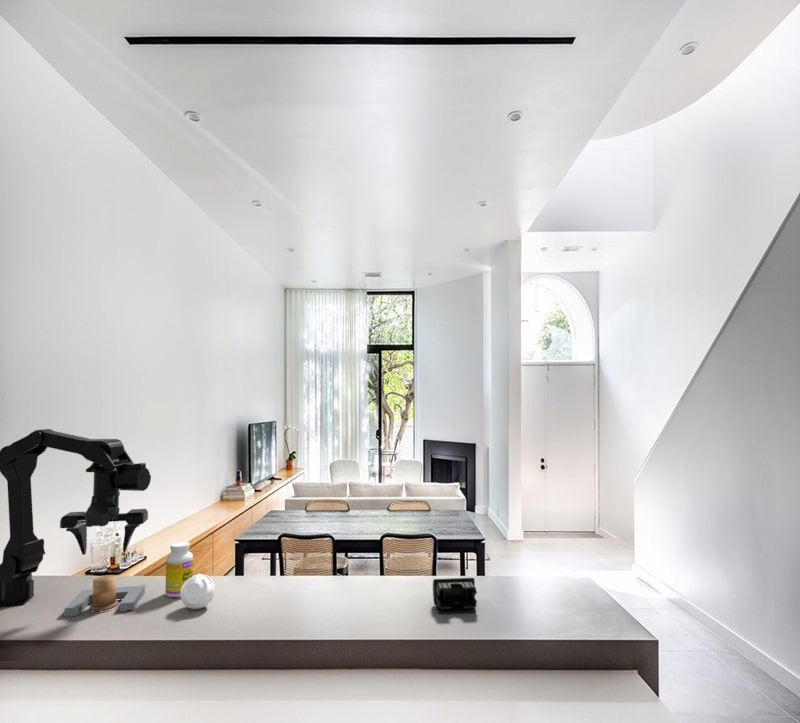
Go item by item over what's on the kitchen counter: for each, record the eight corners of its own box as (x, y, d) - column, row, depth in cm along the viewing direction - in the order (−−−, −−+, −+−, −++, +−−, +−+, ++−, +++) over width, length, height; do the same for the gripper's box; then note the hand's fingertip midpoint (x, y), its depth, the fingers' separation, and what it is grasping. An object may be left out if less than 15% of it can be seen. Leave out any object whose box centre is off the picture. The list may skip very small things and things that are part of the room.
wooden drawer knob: (86, 613, 129) (87, 583, 129) (94, 604, 135) (95, 575, 135) (113, 611, 130) (114, 581, 131) (120, 601, 136) (121, 573, 137)
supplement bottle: (182, 599, 137) (183, 548, 138) (159, 597, 139) (160, 547, 140) (197, 590, 144) (198, 541, 145) (175, 588, 145) (176, 540, 146)
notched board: (64, 617, 127) (64, 608, 127) (81, 598, 139) (82, 590, 139) (133, 610, 131) (133, 602, 131) (144, 592, 142) (144, 585, 142)
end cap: (472, 601, 135) (472, 574, 135) (478, 613, 127) (478, 584, 128) (432, 603, 134) (432, 575, 134) (436, 614, 127) (436, 585, 127)
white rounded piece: (175, 614, 128) (176, 581, 128) (185, 602, 136) (186, 571, 136) (210, 613, 129) (210, 580, 129) (218, 601, 136) (218, 569, 137)
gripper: (51, 497, 126) (49, 566, 125) (138, 494, 130) (136, 560, 129) (69, 489, 136) (67, 552, 135) (149, 486, 141) (147, 547, 140)
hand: (104, 553), depth 135 cm, fingers open, 9 cm apart
